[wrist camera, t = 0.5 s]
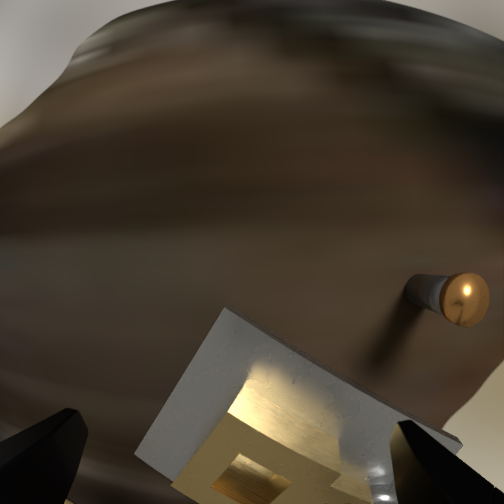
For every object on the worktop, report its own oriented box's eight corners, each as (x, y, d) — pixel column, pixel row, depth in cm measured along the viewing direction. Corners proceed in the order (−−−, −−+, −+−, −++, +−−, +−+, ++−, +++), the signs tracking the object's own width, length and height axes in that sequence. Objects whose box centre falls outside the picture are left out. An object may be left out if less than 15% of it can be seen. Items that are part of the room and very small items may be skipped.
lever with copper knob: (441, 282, 20) (496, 289, 13) (423, 314, 21) (473, 336, 13) (414, 264, 21) (462, 262, 13) (396, 296, 21) (436, 310, 13)
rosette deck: (457, 437, 19) (484, 472, 13) (339, 548, 20) (340, 590, 14) (230, 304, 23) (202, 317, 17) (141, 446, 24) (107, 478, 18)
